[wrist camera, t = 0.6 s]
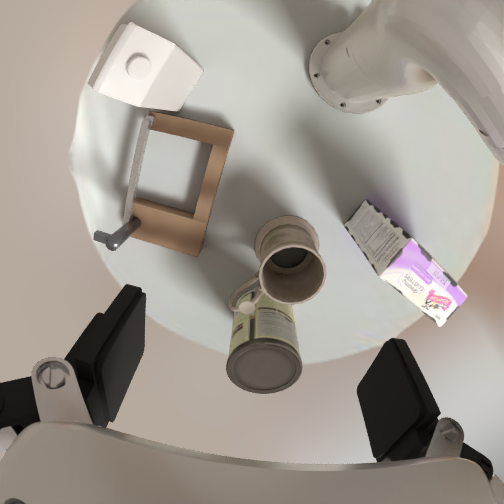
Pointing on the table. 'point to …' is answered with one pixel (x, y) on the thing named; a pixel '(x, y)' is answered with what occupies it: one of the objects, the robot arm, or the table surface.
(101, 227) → the table surface
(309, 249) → the mug
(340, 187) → the table surface
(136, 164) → the rail
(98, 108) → the table surface
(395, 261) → the candy box
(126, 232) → the hook post
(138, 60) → the milk carton
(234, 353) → the coffee can
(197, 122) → the wooden frame
